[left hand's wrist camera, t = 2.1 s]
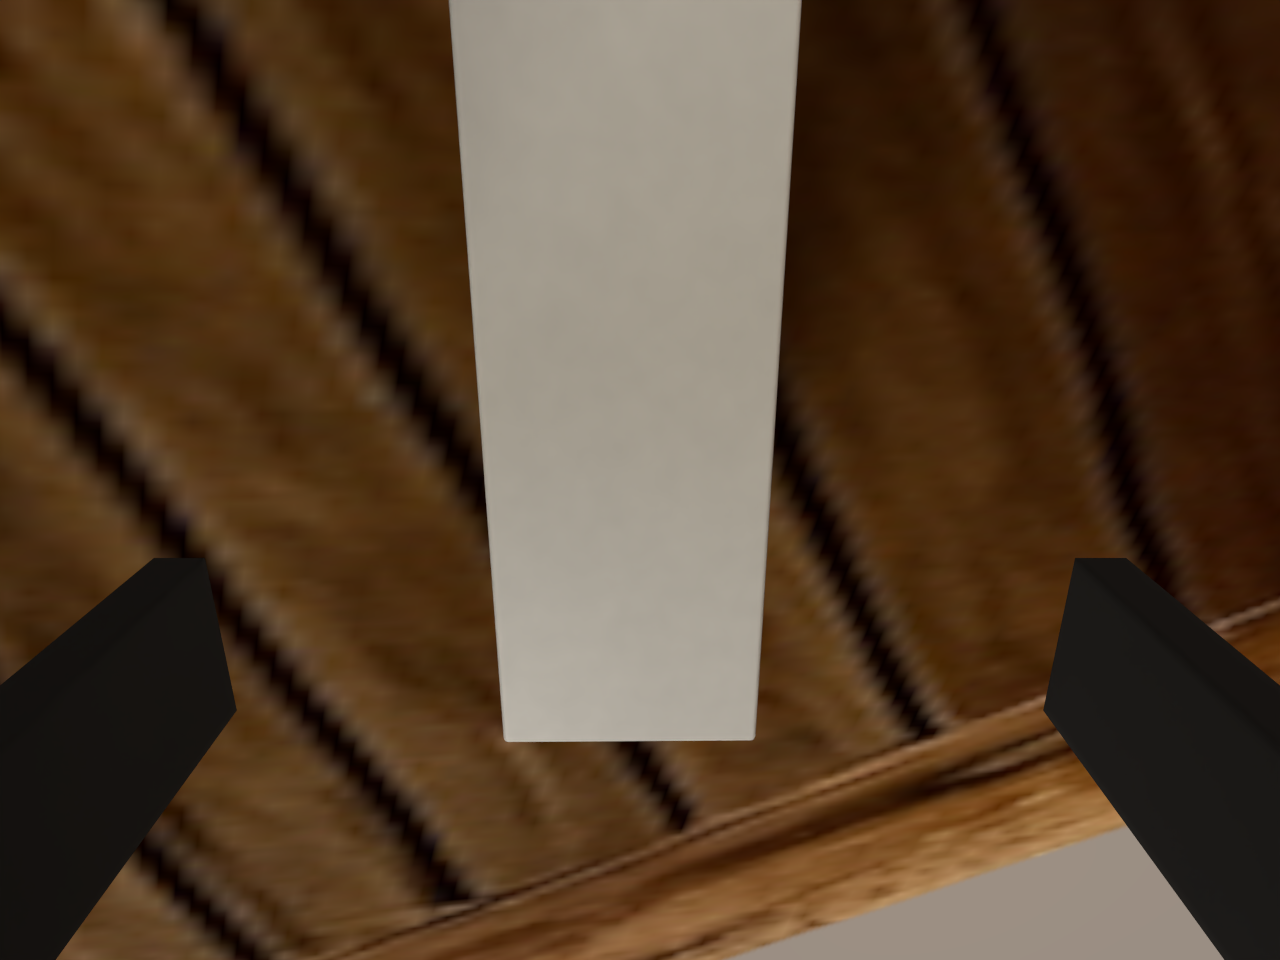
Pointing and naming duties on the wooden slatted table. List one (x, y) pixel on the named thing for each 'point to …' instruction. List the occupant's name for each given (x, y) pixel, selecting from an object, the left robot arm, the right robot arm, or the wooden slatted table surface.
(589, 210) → the bar
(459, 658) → the wooden slatted table surface
